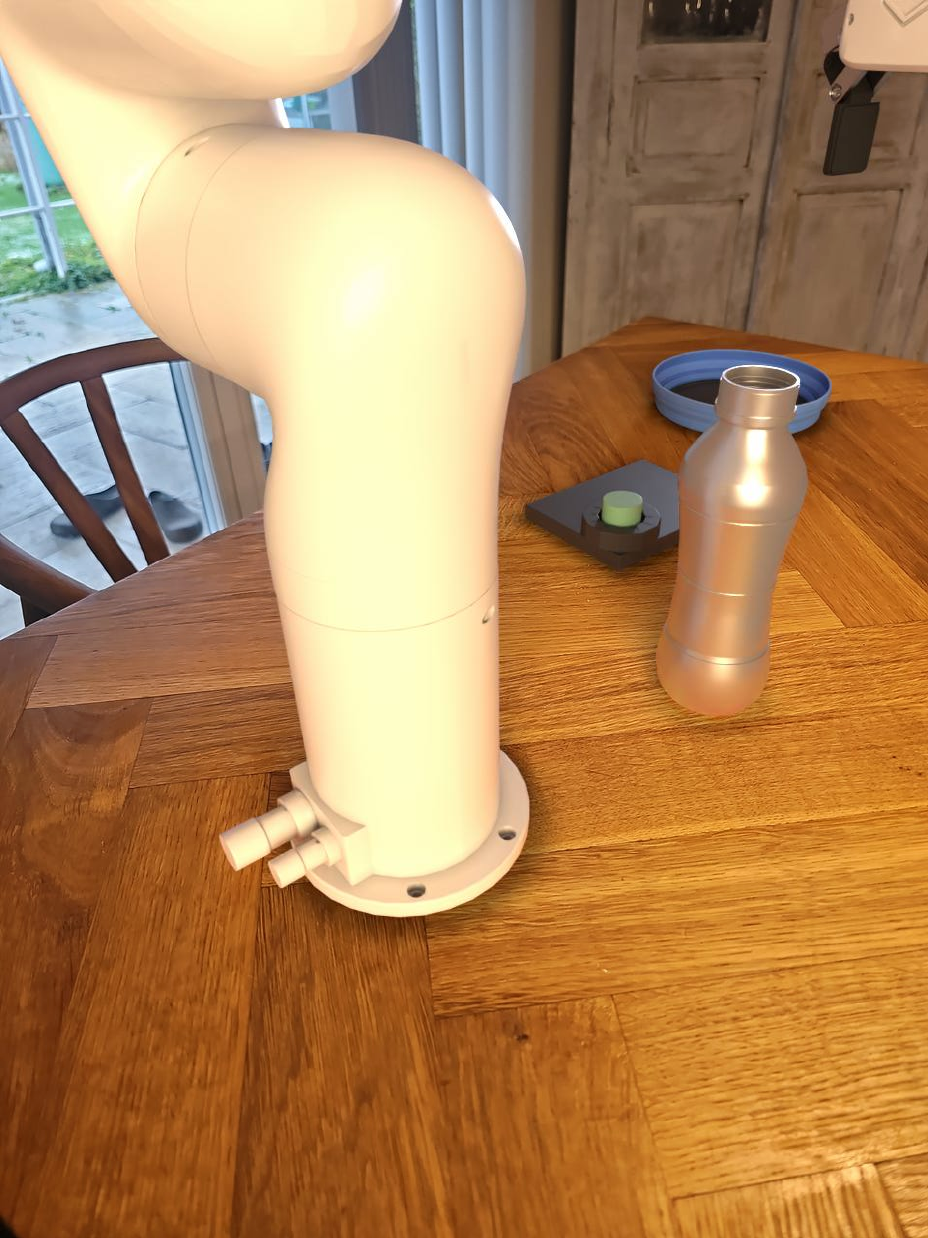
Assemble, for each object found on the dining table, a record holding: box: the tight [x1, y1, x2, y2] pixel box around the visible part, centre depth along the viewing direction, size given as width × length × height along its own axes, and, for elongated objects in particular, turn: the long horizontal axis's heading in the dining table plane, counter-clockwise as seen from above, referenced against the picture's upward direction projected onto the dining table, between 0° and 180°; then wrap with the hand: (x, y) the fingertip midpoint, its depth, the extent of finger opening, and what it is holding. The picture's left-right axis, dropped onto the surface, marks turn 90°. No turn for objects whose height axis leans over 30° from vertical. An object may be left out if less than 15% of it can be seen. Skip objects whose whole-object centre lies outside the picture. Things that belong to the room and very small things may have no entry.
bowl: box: [651, 348, 833, 435], centre depth 89 cm, size 18×18×4 cm
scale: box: [525, 458, 680, 572], centre depth 70 cm, size 14×11×3 cm
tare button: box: [602, 491, 643, 527], centre depth 65 cm, size 3×3×2 cm
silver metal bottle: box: [655, 365, 809, 717], centre depth 47 cm, size 6×7×20 cm
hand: (902, 183), depth 52 cm, fingers open, 9 cm apart
